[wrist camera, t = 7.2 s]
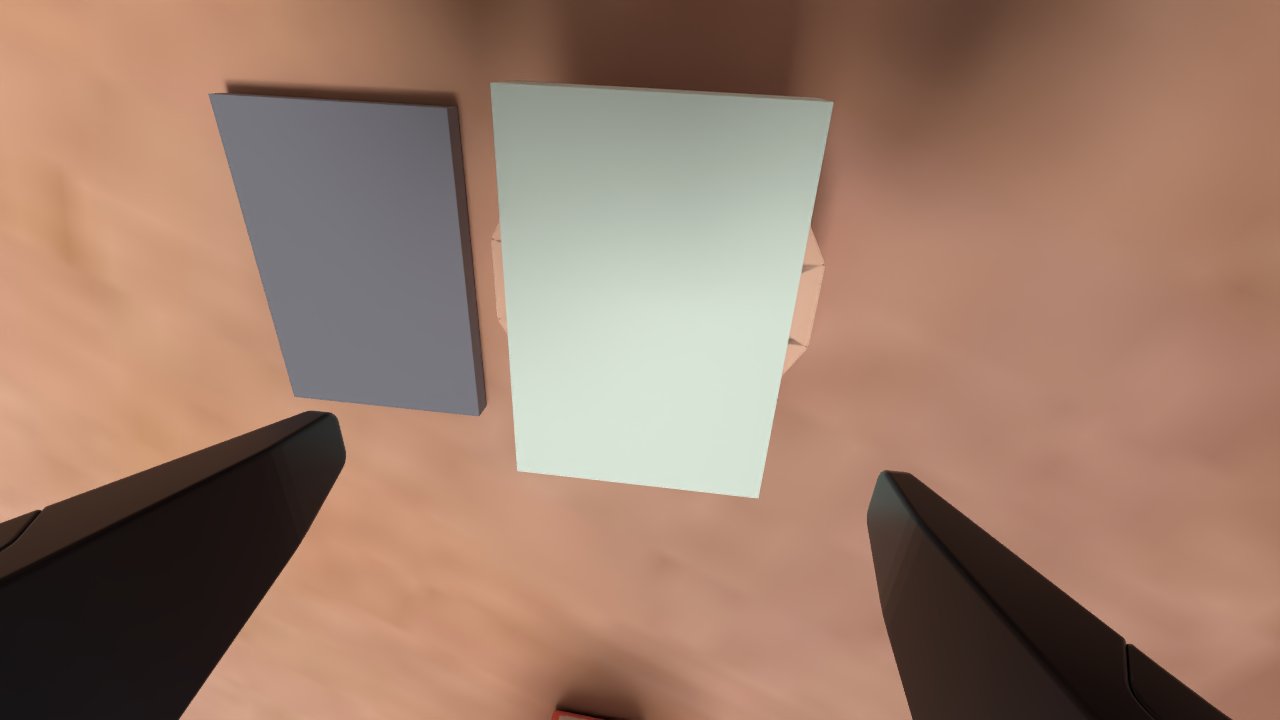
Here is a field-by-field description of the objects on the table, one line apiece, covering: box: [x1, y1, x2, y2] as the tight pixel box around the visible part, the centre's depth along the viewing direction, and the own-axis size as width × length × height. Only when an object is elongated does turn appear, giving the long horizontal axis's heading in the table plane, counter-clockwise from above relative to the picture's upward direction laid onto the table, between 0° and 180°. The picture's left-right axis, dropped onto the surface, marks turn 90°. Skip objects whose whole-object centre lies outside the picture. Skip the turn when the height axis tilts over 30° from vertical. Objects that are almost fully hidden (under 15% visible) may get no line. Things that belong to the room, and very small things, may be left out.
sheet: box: [490, 81, 834, 498], centre depth 15 cm, size 7×10×2 cm
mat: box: [209, 93, 486, 416], centre depth 21 cm, size 8×12×1 cm
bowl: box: [491, 222, 825, 375], centre depth 18 cm, size 9×9×4 cm
